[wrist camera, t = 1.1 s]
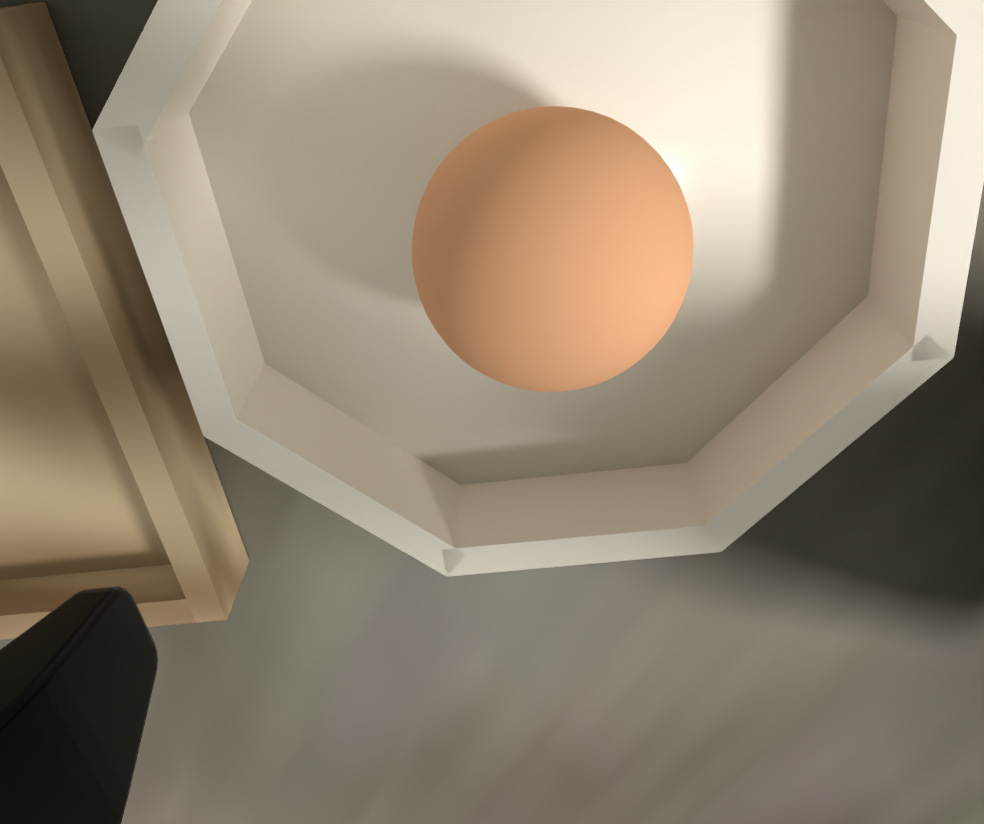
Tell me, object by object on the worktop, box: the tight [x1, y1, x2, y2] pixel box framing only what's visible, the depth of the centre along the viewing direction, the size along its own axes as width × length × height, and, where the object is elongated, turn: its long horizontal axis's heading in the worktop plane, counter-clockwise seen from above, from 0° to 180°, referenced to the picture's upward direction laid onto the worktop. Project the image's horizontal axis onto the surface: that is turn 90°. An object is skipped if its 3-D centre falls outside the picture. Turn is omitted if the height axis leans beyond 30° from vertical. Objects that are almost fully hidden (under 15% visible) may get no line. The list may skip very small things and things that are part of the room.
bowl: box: [92, 0, 984, 576], centre depth 17 cm, size 15×15×3 cm
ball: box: [412, 106, 693, 392], centre depth 15 cm, size 5×5×5 cm
